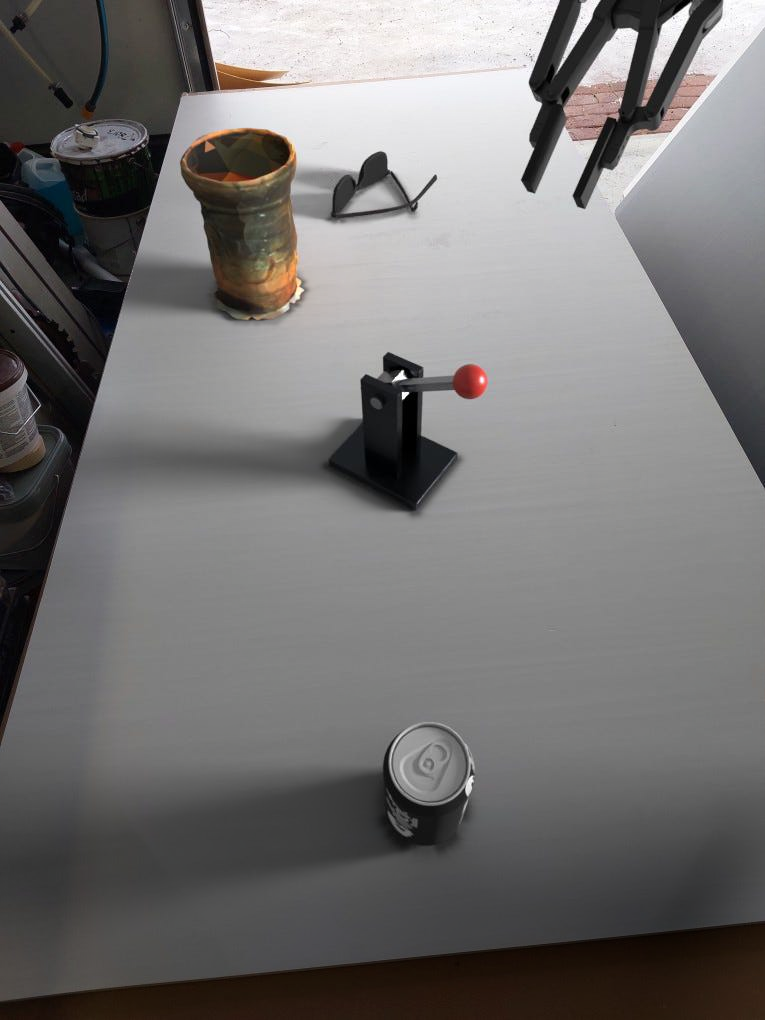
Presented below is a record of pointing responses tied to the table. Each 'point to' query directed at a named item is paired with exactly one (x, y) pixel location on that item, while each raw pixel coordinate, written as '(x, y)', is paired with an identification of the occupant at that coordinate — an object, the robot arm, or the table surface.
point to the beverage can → (427, 782)
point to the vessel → (247, 218)
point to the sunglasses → (369, 174)
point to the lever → (441, 382)
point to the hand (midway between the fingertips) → (553, 194)
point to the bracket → (393, 441)
